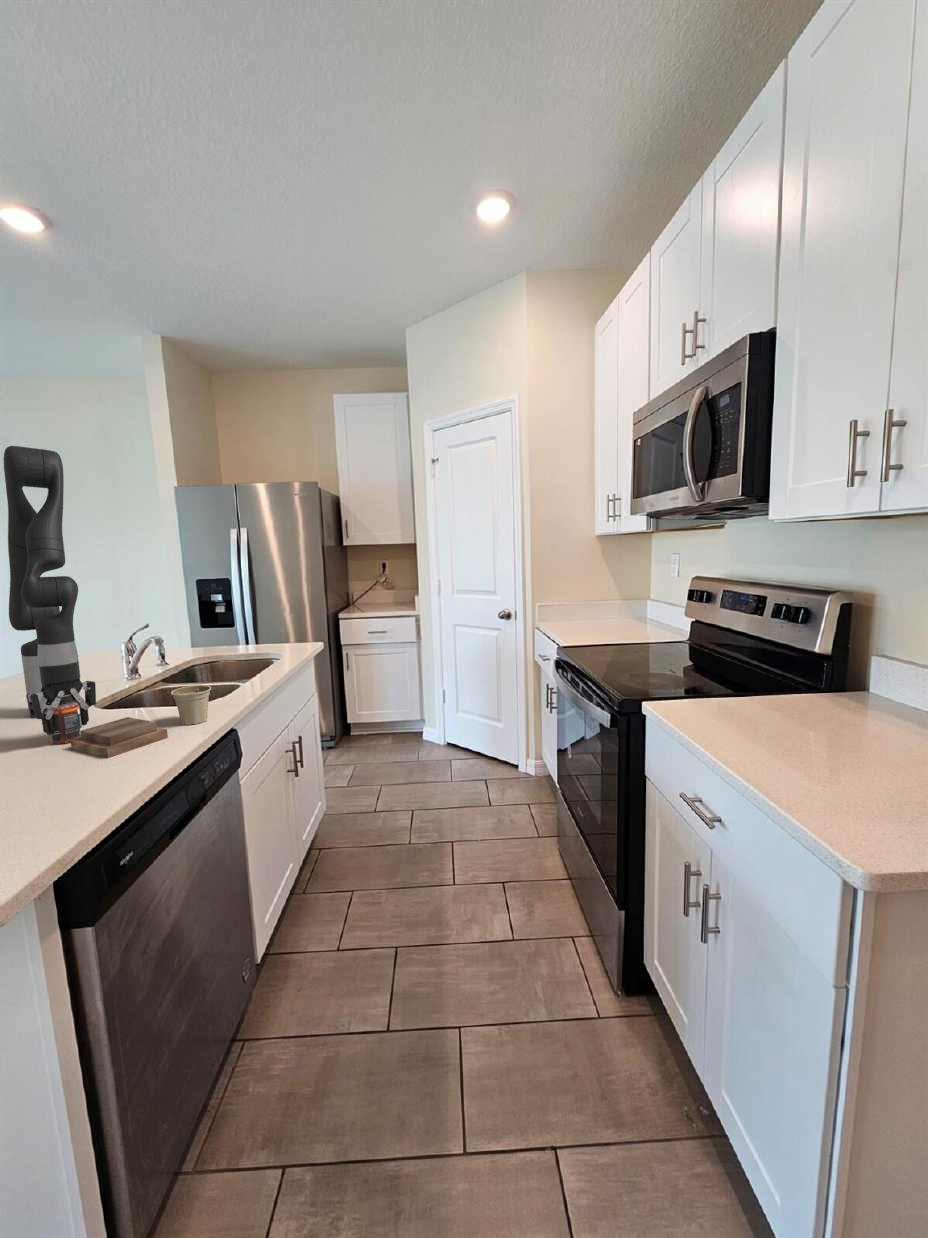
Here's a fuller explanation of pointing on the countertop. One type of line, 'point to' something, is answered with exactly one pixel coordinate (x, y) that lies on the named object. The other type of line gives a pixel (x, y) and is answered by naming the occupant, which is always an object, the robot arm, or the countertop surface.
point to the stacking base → (119, 746)
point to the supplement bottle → (66, 721)
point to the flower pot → (192, 703)
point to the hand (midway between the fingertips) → (67, 729)
